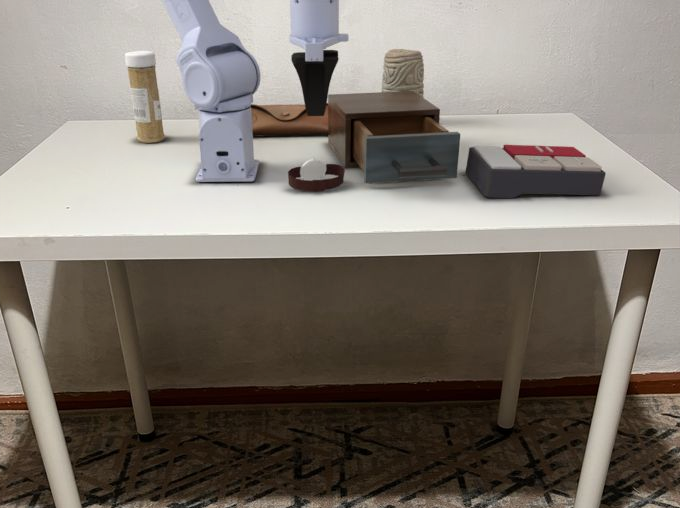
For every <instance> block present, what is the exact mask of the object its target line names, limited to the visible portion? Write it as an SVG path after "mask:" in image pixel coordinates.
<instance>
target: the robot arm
mask: <svg viewBox="0 0 680 508" xmlns="http://www.w3.org/2000/svg"><path fill="white" fill-rule="evenodd" d="M161 2H162V4H163V6H164V8H165V10H166V12H167V14H168V16H169V18H170V20H171V22H172V24H173V26H174V28H175V29H176V32H177V34H178V36H179V38H180V41H181V43H182V44H181V46H180V49H179V51H178V53H177V56H176V58H175V63H176V64H177V66H178V69H179V70H180V74H181V79H182V85H183V90H184V92H185V94H186V96H187V98H188V100H189V101H190V102H191V103H192V104H193V107H194V110H197V115H198V126H199V132H198V144H199V154H200V165H201V167H200V169H199V170H198V173H197V175H196V177H195V182H197V183H225V182H227V183H229V182H230V183H231V182H233V183H234V182H235V183H236V182H239V183H240V182H241V183H242V182H246V183H247V182H254V181H255V179H256V176H257V173H258V170H259V165H260V160H259V159H258V158H255V153H254V152H255V151H254V136H253V132H252V115H251V104H253V103H254V95H255V94H256V93H257V91H258V89H259V88H260V84H261V78H262V77H261V70H260V66H259V63H258V61H257V60H256V58H255V57H254V56H253V54H252V53H251V52H249V51H248V50H247V48H245V46H244V45H243V43H242V41H241V39H240V37H239V36H238V35H237V34H235V33H234V32H232V31H231V30H229V29H228V28H227V27H225V26H224V25H222V24H221V23H220V20H219V18H218V16H217V14H216V13H215V11H214V8H213V6H212V4H211V3H210V2H211V1H210V0H161ZM339 6H340V0H289V15H290V34H289V35H288V36H289V38H288V39H289V43H290V44H291V45H295V46H297V47H299V48H301V49H304V51H303V52H302V51H301V52H293V53H292V54H291V59H290V60H291V63H292V65H293V67H294V69H295V71H296V74H297V76H298V80H299V82H300V86H301V87H300V88H301V91H302V97H303V102H304V105H305V108H306V112H307V115H308V116H324V114H325V110H326V104H327V103H328V95H329V89H330V84H331V80H332V77H333V74H334V72H335V69H336V67H337V64H338V62H339V60H340V59H339V58H340V57H339V51H338V50H337V49H327V48H330V47H331V46H334V45H337V44H339V43H346V42H349V34H348V33H340V27H339V26H340V7H339Z"/></svg>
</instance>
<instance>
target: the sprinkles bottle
mask: <svg viewBox="0 0 680 508" xmlns="http://www.w3.org/2000/svg"><path fill="white" fill-rule="evenodd" d="M124 59H125V60H124V61H125V66H126V70H127V72H128V79H129V90H130V96H131V98H130V99H131V105H132V110H133V117H134V121H135V127H136V133H137V136H136V140H137V141H138V142H139V143H143V144H153V143H160V142H162V141H164V140H165V138H166V136H165V132H164V125H163V114H162V108H161V100H160V92H159V91H160V90H159V87H158V80H157V79H158V78H157V72H156V67H157V66H156V65H157V62H156V61H157V60H156V54H155V52H154V51H151V50H133V51H129V52H126V53H125V54H124Z"/></svg>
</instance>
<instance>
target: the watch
mask: <svg viewBox="0 0 680 508" xmlns="http://www.w3.org/2000/svg"><path fill="white" fill-rule="evenodd" d="M345 171H346V168H345V167H344V166H343V165H340V164H338V163H337V164H336V163H324V162H323V161H322V160H321V159H318V158H316V157H314V156H313V157H312V158H311V159H308V160H306V161H305V162H304V163H303V164H302V165H300V166H295V167H292V168H290V169H289V170H288V171H287V181H288V185H289V187H290V188H292V189H294V190H296V191H301V192H315V193H317V192H324V191H327V190H333V189H336V188H338V187H341V185H343V183H344V178H345ZM328 175H329V176H336V177H332V178H331V177H330V178H324V179H322V178H323V177H324V176H328ZM301 178H303V179H301Z"/></svg>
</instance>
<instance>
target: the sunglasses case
mask: <svg viewBox="0 0 680 508" xmlns="http://www.w3.org/2000/svg"><path fill="white" fill-rule="evenodd" d="M251 115H252V132H253V137H312V136H313V137H314V136H323V135H328V102H327V104H326V110H325V114H324V116H308V115H307V112H306V108H305V104H300V103H299V104H255V103H254V104H253V103H251Z"/></svg>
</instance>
